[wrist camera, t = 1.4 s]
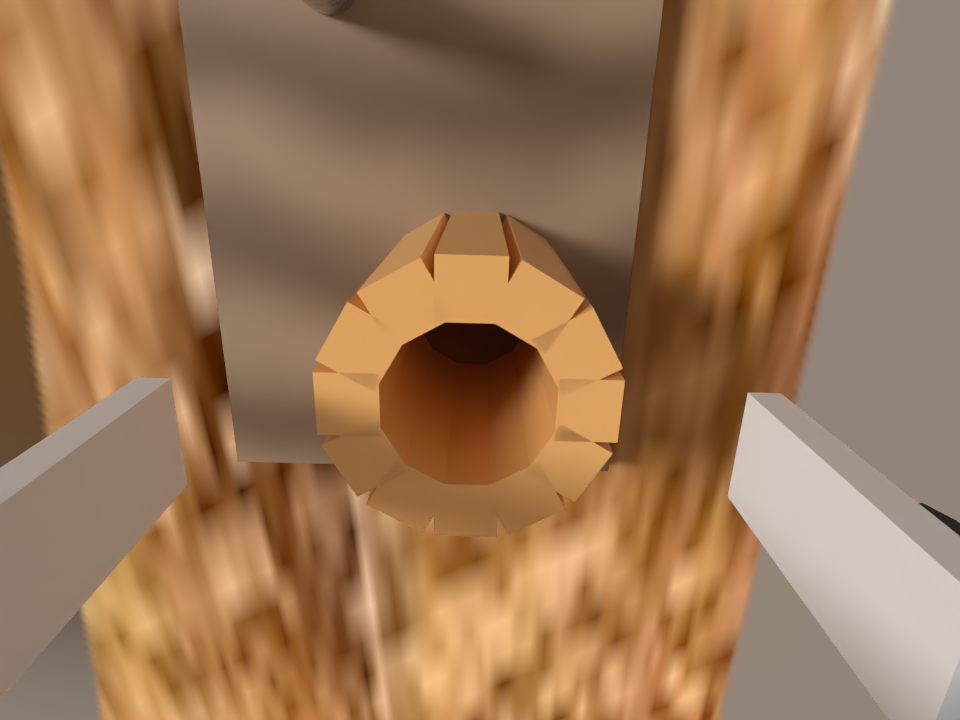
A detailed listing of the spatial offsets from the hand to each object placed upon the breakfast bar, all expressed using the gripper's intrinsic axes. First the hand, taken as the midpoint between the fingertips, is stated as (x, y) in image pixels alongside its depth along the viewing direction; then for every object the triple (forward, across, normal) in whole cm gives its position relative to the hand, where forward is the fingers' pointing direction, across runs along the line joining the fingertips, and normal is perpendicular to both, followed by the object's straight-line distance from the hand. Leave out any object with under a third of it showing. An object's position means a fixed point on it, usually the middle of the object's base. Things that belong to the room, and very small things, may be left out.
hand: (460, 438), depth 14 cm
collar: (+10, 0, 0) cm, 10 cm away
